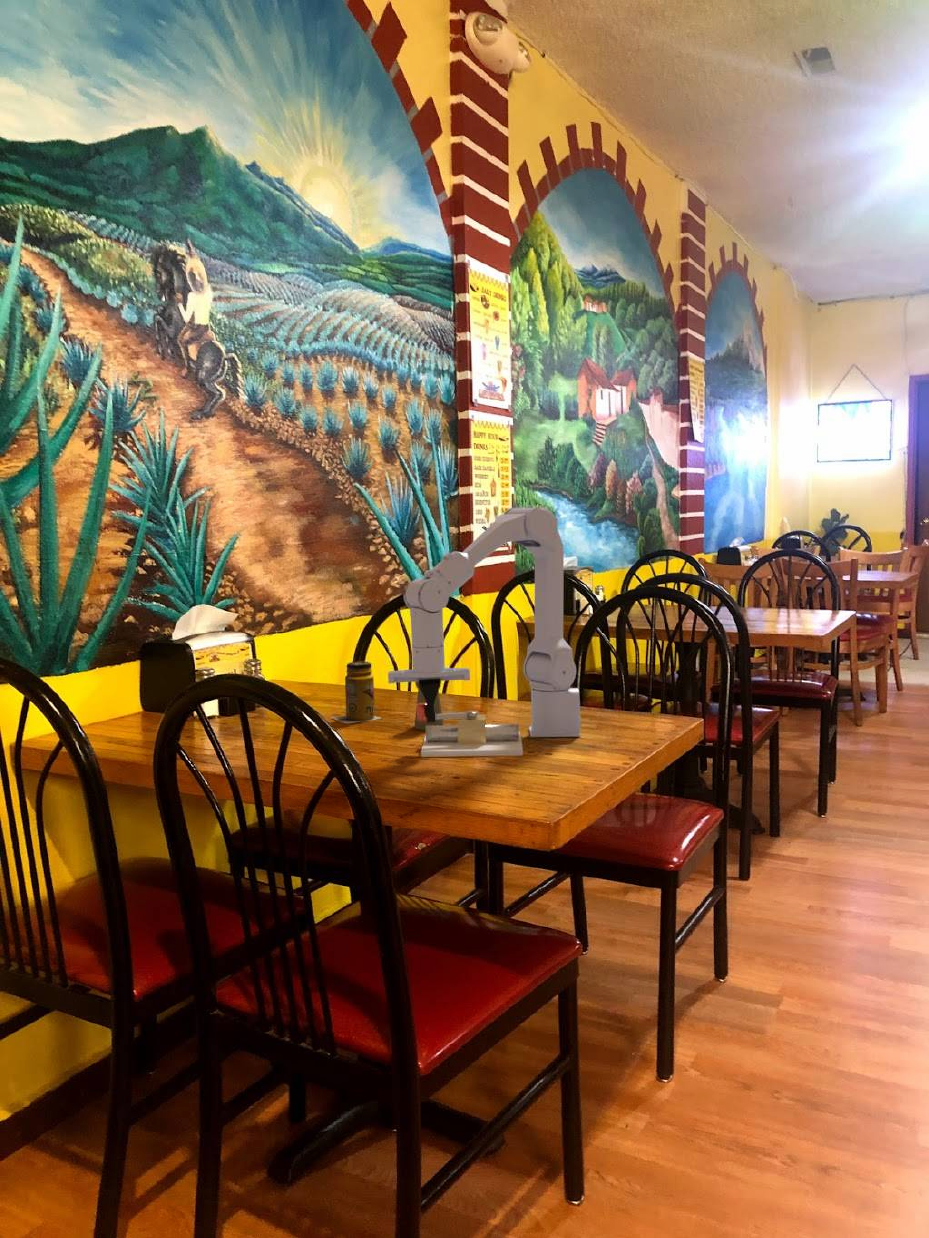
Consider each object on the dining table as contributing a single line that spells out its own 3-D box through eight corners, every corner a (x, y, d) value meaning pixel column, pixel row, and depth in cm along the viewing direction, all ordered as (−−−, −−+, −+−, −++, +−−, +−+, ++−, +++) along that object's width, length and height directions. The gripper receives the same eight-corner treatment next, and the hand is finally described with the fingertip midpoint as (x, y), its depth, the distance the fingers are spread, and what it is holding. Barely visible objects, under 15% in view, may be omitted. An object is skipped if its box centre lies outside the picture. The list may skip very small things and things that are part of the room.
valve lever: (476, 715, 179) (476, 699, 179) (479, 717, 177) (479, 701, 177) (416, 719, 177) (415, 703, 176) (418, 721, 174) (418, 705, 174)
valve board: (519, 736, 186) (519, 731, 185) (522, 755, 171) (522, 749, 171) (426, 738, 186) (426, 732, 186) (421, 756, 171) (420, 751, 171)
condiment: (382, 719, 205) (380, 663, 204) (347, 724, 200) (345, 667, 199) (365, 713, 211) (363, 659, 210) (330, 719, 206) (328, 663, 205)
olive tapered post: (440, 730, 193) (439, 675, 192) (411, 729, 194) (409, 675, 193) (447, 723, 199) (445, 670, 198) (418, 723, 200) (417, 670, 199)
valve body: (518, 737, 181) (517, 714, 180) (518, 743, 176) (518, 719, 175) (427, 738, 181) (426, 715, 180) (425, 744, 176) (424, 721, 175)
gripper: (468, 641, 176) (470, 714, 178) (388, 644, 176) (391, 718, 177) (469, 646, 169) (471, 723, 171) (386, 649, 169) (389, 726, 170)
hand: (430, 721), depth 174 cm, fingers closed, pressing on valve lever
